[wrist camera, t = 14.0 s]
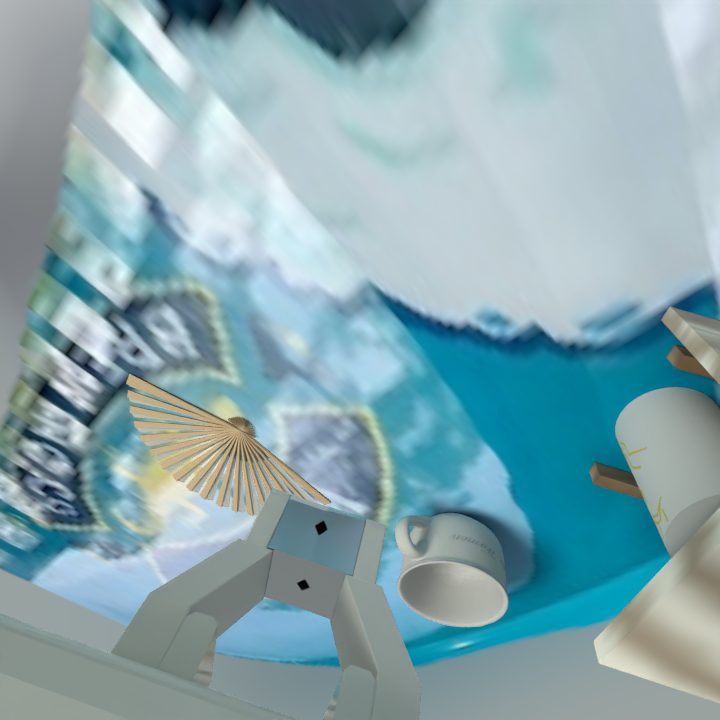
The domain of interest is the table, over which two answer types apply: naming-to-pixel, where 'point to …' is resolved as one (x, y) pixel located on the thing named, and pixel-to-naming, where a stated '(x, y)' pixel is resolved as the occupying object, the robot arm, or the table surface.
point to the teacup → (451, 570)
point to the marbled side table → (674, 566)
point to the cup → (674, 458)
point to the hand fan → (242, 441)
